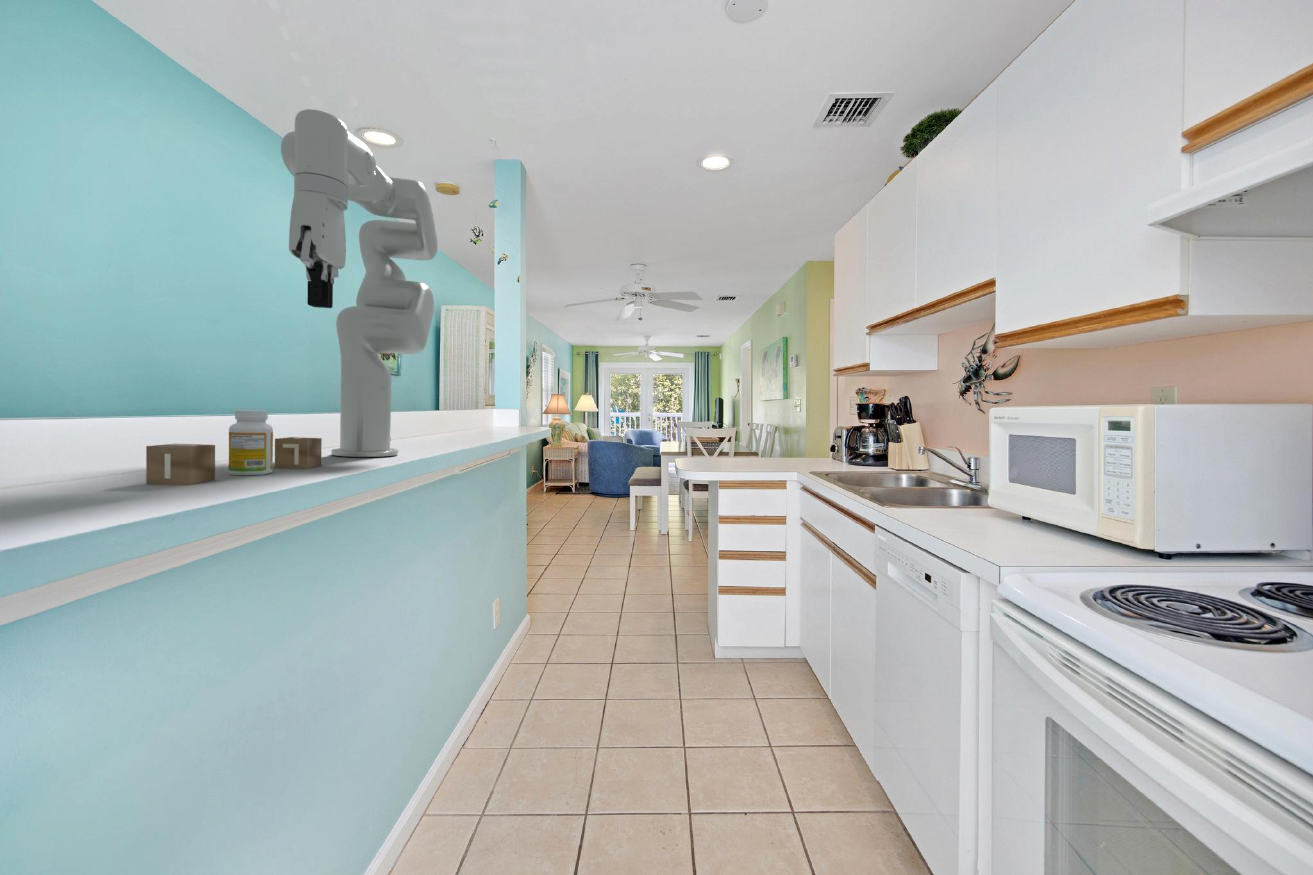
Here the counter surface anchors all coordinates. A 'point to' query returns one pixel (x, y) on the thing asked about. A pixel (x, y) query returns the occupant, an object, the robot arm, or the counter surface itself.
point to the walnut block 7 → (297, 453)
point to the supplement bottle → (250, 444)
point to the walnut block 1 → (180, 464)
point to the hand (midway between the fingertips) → (320, 306)
